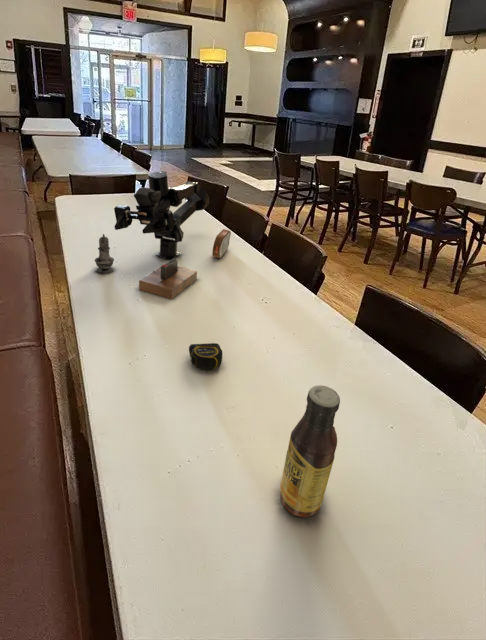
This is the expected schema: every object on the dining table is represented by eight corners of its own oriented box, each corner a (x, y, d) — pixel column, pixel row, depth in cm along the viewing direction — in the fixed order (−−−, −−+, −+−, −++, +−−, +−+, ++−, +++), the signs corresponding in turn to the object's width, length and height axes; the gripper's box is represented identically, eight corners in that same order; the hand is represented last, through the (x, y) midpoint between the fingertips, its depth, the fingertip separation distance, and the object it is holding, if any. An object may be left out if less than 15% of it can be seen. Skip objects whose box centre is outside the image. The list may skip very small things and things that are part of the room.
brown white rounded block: (222, 246, 157) (224, 225, 154) (230, 248, 157) (232, 227, 154) (210, 260, 144) (212, 237, 141) (219, 262, 143) (221, 239, 140)
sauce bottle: (274, 482, 63) (292, 375, 56) (314, 481, 64) (337, 376, 56) (284, 523, 57) (305, 410, 50) (327, 522, 58) (355, 410, 50)
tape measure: (218, 354, 93) (219, 339, 91) (224, 373, 87) (225, 358, 85) (188, 355, 91) (189, 341, 90) (191, 375, 85) (192, 359, 84)
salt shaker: (117, 267, 132) (116, 232, 128) (110, 275, 127) (109, 238, 122) (99, 265, 132) (97, 230, 128) (91, 272, 127) (90, 236, 123)
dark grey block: (172, 270, 126) (173, 257, 124) (177, 271, 125) (177, 259, 124) (160, 278, 120) (160, 265, 118) (165, 280, 119) (165, 266, 118)
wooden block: (165, 271, 132) (165, 262, 131) (196, 279, 128) (197, 270, 127) (138, 289, 119) (138, 279, 118) (172, 299, 115) (172, 289, 114)
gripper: (125, 181, 128) (95, 200, 116) (179, 186, 122) (154, 206, 109) (131, 214, 134) (103, 236, 121) (183, 220, 128) (159, 243, 115)
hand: (128, 230), depth 117 cm, fingers open, 9 cm apart
